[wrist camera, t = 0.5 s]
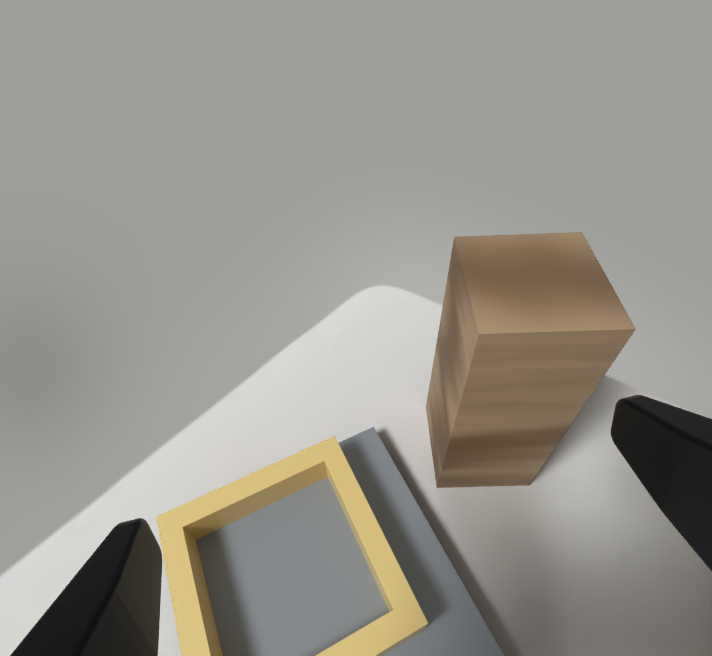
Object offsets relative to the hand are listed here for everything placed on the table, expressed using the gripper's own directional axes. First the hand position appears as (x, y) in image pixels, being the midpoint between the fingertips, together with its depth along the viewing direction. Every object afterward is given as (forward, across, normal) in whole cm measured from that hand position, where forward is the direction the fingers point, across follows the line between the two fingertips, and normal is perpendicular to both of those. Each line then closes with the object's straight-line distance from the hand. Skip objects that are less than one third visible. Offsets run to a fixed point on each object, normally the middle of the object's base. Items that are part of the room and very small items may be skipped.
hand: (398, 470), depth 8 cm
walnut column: (+12, -7, +12) cm, 19 cm away
